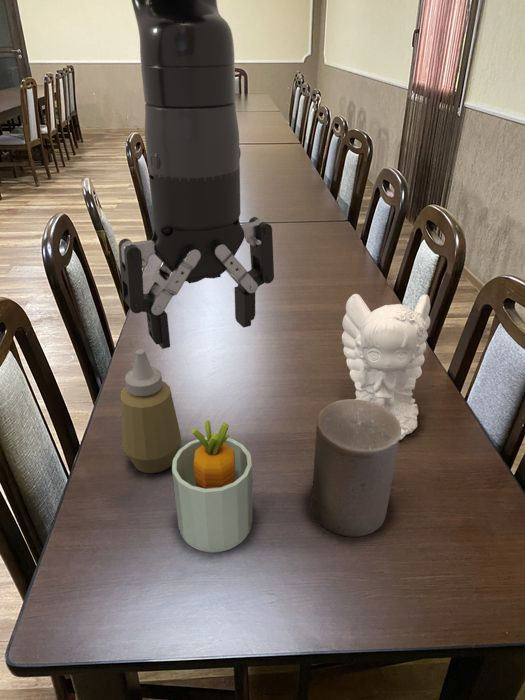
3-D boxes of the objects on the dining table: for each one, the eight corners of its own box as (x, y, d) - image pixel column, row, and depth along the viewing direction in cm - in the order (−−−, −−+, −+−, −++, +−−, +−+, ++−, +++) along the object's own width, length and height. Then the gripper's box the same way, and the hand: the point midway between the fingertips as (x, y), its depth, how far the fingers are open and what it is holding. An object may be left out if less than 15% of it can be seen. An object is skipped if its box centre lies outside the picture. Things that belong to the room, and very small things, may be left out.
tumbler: (196, 564, 61) (190, 503, 56) (168, 511, 68) (161, 451, 63) (265, 533, 65) (265, 473, 60) (232, 485, 72) (230, 427, 67)
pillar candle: (298, 519, 67) (303, 426, 59) (327, 470, 74) (335, 381, 67) (374, 549, 63) (390, 453, 55) (396, 494, 71) (413, 403, 63)
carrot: (190, 529, 65) (181, 433, 57) (208, 500, 69) (202, 406, 61) (227, 541, 63) (223, 444, 56) (244, 511, 67) (242, 417, 60)
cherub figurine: (331, 436, 81) (341, 318, 70) (336, 388, 91) (346, 280, 81) (421, 447, 79) (445, 327, 68) (415, 397, 89) (436, 286, 79)
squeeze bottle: (179, 480, 73) (168, 369, 63) (119, 480, 73) (99, 369, 63) (186, 440, 80) (176, 335, 70) (131, 440, 80) (114, 335, 70)
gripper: (249, 147, 50) (250, 303, 58) (95, 162, 44) (121, 334, 52) (291, 162, 44) (286, 333, 53) (122, 183, 38) (146, 372, 47)
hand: (204, 333), depth 53 cm, fingers open, 8 cm apart
